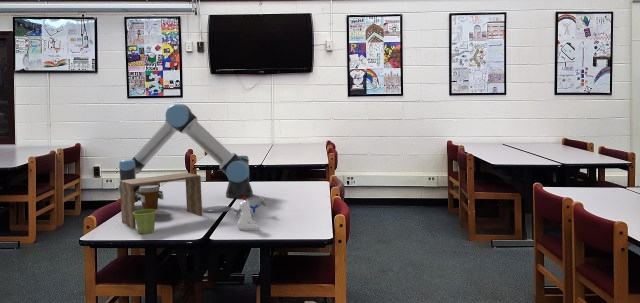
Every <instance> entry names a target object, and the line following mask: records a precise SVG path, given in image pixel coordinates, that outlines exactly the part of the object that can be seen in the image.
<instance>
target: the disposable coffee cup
mask: <svg viewBox="0 0 640 303" xmlns="http://www.w3.org/2000/svg"><path fill="white" fill-rule="evenodd" d="M140 186H141V187H139V192H140V195H142V196H145V202H141V205H142V210H144V209H155V210H157V211H158V205H159V198H158V194H159V191H160V190H161V189H160V187H159V185H158V184H147V185H140Z"/></svg>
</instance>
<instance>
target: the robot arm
mask: <svg viewBox="0 0 640 303" xmlns="http://www.w3.org/2000/svg"><path fill="white" fill-rule="evenodd" d="M164 117H165V120H164V124H162V125H161V127H159V129H157V131H156V132H155V133H154V134H153V135H152V137H151V138H150V139H149V140H148V141H147V142H146V143H145V144H144V145H143V146H142V147H141V149H140V150H139V151H138V152H137V153H136V154H135V155H134V156H133V157H132V158H131V159H122V160H120V161H119V165H118V168H119V182H120V181H121V180H129V179H137V178H136V175H138V174H139V173H141V172H142V170H143V168H145V166H146V165H147V164H148V163H149V162H150V161H151V159H153V158H154V157H155V155H156V154H157V153H158V152H159V151H160V150H161V149H162V148H163V146H165V145H166V143H168V141H169V140H170V139H171V138H172V137H173V136H174V135H175V133H176V132H179V133H180V134H184V135H186V136H188V137H189V138H190V139H191V140H192V141H193V142H194V143H196V144H197V145H198V147H199V148H201V149H202V150H203V151H204V152H205V153H206V154H207V155H208V156H209V157H210V158H212V159H213V160H214V162H216V163H217V164H218V165H219V170H221V171H222V173H223V174H225V175H226V177H227V179H228V184H227V188H226V191H225V197H226V198H229V199H243V196H246V198H251V197H253V195H254V193H253V192H254V190H253V188H252V185H251V183H250V166H249V165H250V164H249V163H250V159H249V157H248V155H238V154H236V153H235V152H230V151H229V150H228V149H227V147H225V146H224V145H223V144H221V143H220V141H219V140H217V138H216V137H214V136H213V135H212V134H211V133H210V132H209V131H208V130H206V128H205V127H204V126H202V125H201V124H200V123H199V122H198V117H197V116H196V115H195V114H194V113H193V112H192V110H191V109H190V108H189V106H187V105H185V104H183V103H182V104H181V103H174V104H171V105H170V106H169V107H168V108H167V109H166V111H165V116H164ZM141 186H142V185H139V186H133V188H134V203H137V202H141V203H142V202H145V196H142V195H140V192H139V187H141ZM117 190H118V193H119V194H120V184H119V185H118V189H117ZM158 200H165V199H164V192H163V190H159V194H158Z"/></svg>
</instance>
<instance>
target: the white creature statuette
mask: <svg viewBox="0 0 640 303" xmlns="http://www.w3.org/2000/svg"><path fill="white" fill-rule="evenodd" d="M249 205H251V204H250V203H248V200H246V201H245V200H243V201H241V202H240V203H239V209H241V212H240V219H239V218H238V221H237V223H236V226H237V228H238V230H240V231H260V226H259V225H258V224H257V222H256V221H255V220H254V219H252V214H251V210H252V209H251V208H250V206H249Z"/></svg>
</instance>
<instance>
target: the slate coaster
mask: <svg viewBox="0 0 640 303" xmlns="http://www.w3.org/2000/svg"><path fill="white" fill-rule="evenodd" d="M230 208H232V206H227V205H216V206H215V205H213V206H208V207H205V208H202V213H203V212H204V213H209V214H210V213H211V214H214V213H215V214H217V213H224V212H229V211H231V210H230Z"/></svg>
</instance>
